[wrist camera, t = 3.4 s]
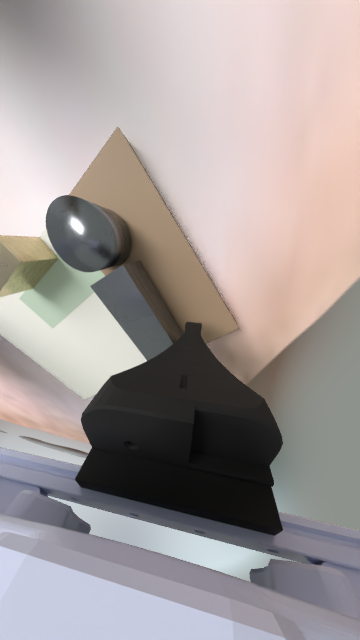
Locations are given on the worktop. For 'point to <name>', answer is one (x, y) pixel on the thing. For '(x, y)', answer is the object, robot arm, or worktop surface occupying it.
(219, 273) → the worktop surface
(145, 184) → the door board
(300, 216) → the worktop surface
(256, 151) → the worktop surface
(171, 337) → the latch bar
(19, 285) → the block
